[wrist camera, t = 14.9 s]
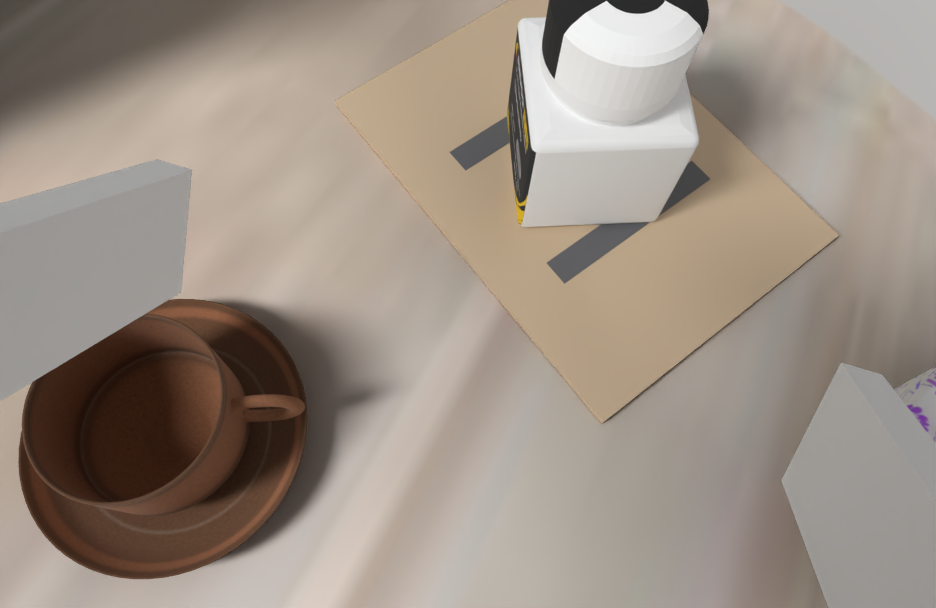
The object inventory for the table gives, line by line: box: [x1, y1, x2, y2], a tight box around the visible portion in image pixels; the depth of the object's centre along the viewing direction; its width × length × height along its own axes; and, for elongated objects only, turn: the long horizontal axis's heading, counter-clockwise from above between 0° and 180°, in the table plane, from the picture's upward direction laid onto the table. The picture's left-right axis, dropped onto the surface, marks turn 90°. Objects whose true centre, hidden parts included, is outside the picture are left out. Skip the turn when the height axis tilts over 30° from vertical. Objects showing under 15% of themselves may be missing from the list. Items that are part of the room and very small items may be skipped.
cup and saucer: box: [19, 299, 307, 579], centre depth 30 cm, size 12×12×6 cm
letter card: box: [335, 0, 839, 424], centre depth 38 cm, size 22×16×1 cm
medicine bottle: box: [507, 0, 709, 228], centre depth 32 cm, size 7×7×12 cm
